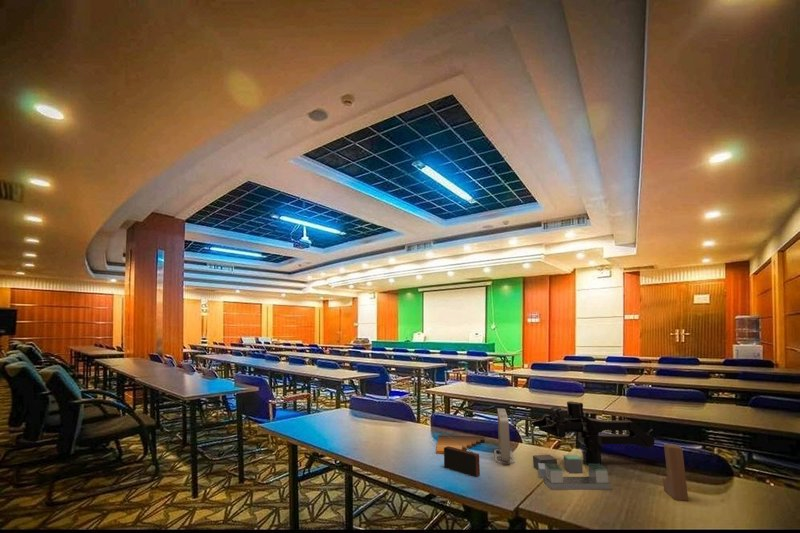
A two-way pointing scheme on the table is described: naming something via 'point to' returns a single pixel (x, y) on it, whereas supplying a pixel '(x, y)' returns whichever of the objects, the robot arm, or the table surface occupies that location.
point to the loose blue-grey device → (541, 470)
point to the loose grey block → (543, 460)
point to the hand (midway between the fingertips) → (535, 425)
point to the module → (573, 464)
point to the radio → (461, 460)
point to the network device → (503, 439)
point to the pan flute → (463, 440)
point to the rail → (577, 478)
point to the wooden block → (675, 473)
